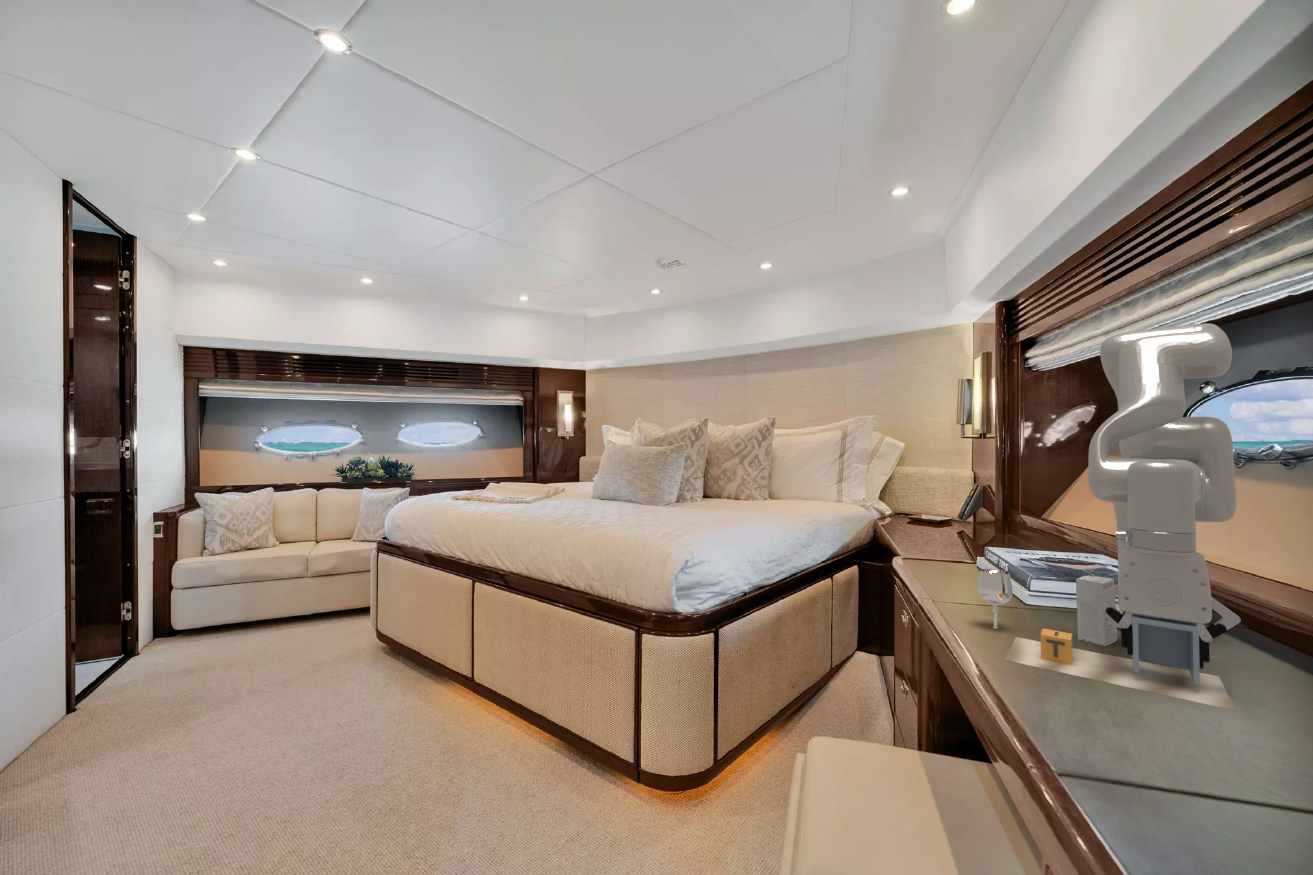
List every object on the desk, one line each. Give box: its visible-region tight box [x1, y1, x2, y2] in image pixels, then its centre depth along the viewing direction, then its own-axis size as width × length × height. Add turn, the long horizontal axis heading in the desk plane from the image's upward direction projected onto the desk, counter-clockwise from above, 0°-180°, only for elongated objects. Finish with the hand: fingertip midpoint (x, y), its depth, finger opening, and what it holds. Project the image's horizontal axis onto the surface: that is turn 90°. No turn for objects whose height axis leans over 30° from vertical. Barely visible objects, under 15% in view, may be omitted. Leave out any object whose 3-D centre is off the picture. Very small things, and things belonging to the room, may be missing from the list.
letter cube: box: [1040, 628, 1073, 665], centre depth 88 cm, size 4×4×4 cm
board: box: [1004, 636, 1237, 712], centre depth 84 cm, size 26×14×1 cm, turn 49°
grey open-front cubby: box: [1131, 615, 1201, 685], centre depth 80 cm, size 7×7×8 cm
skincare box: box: [1075, 575, 1118, 647], centre depth 97 cm, size 6×4×12 cm
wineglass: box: [977, 568, 1014, 630], centre depth 103 cm, size 6×6×12 cm
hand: (1163, 658), depth 80 cm, fingers closed on grey open-front cubby, 6 cm apart
